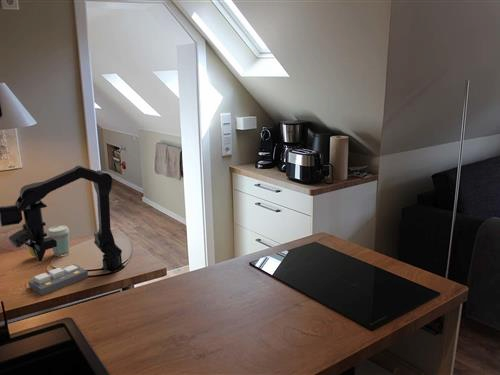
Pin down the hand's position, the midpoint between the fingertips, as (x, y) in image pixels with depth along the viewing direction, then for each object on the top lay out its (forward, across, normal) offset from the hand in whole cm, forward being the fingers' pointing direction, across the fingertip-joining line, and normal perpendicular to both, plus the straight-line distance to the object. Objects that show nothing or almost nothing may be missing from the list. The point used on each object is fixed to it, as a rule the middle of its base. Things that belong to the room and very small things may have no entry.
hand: (39, 261), depth 159 cm
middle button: (+8, 0, +5) cm, 10 cm away
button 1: (+8, 0, 0) cm, 8 cm away
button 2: (+9, 0, +11) cm, 14 cm away
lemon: (+10, -28, +11) cm, 32 cm away
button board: (+10, +1, +6) cm, 12 cm away
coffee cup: (+10, -23, +19) cm, 31 cm away
